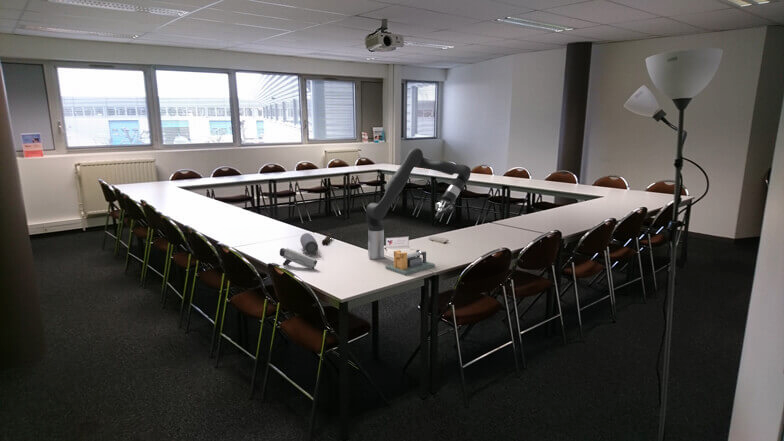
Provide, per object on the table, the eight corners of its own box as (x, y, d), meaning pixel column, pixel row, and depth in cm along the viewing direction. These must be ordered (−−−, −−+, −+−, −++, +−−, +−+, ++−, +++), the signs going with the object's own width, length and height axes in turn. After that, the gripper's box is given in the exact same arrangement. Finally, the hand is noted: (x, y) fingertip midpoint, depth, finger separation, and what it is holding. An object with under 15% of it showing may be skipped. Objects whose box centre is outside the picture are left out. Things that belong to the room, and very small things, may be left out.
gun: (280, 261, 270) (282, 245, 267) (315, 276, 261) (317, 260, 258) (277, 262, 268) (279, 246, 265) (312, 277, 259) (315, 261, 256)
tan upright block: (399, 265, 259) (399, 250, 257) (407, 268, 254) (407, 252, 252) (393, 267, 256) (393, 251, 254) (401, 269, 251) (401, 253, 249)
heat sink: (411, 261, 266) (411, 254, 266) (422, 264, 260) (422, 258, 259) (399, 264, 261) (399, 257, 260) (410, 268, 254) (410, 261, 253)
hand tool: (327, 245, 310) (327, 238, 309) (321, 245, 311) (321, 238, 310) (334, 238, 329) (334, 232, 328) (328, 238, 329) (328, 232, 328)
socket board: (415, 260, 273) (415, 247, 272) (434, 266, 262) (435, 252, 260) (385, 268, 259) (385, 254, 257) (404, 275, 247) (404, 260, 245)
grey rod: (420, 250, 266) (398, 256, 255) (424, 251, 263) (402, 257, 253) (420, 253, 266) (398, 259, 255) (424, 254, 264) (402, 260, 253)
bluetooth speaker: (299, 247, 305) (298, 232, 303) (313, 246, 307) (313, 231, 305) (304, 256, 283) (303, 241, 281) (319, 255, 286) (318, 239, 284)
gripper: (462, 199, 271) (448, 223, 266) (446, 197, 281) (431, 219, 275) (456, 191, 266) (442, 215, 261) (440, 189, 276) (425, 212, 271)
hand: (436, 217), depth 268 cm, fingers closed
